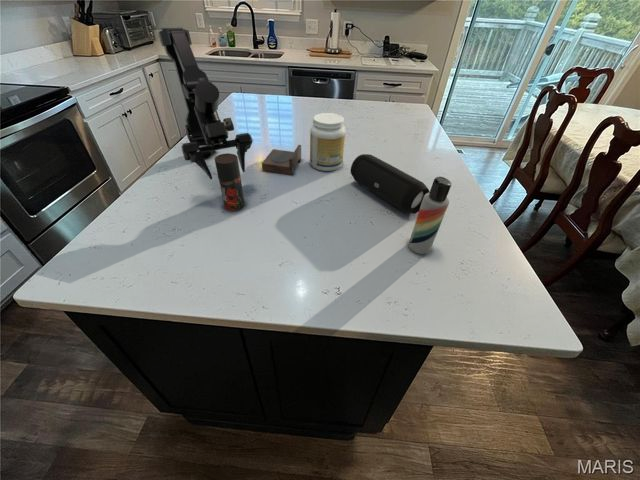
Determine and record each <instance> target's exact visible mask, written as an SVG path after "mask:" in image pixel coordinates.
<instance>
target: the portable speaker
mask: <svg viewBox="0 0 640 480" xmlns="http://www.w3.org/2000/svg"><path fill="white" fill-rule="evenodd" d="M350 174H351V176H352V178H353V179H354V181H355V182H356V183H357V184H359V185H361V186H362V187H364V188H366V189H367V190H369V191H370V192H372V193H373V194H375V195H376V196H378V197H379V198H381V199H383V200H384V201H386V202H387V203H389V204H391V205H392V206H394V207H395V208H397V209H398V210H400V211H401V212H403V213H406V214H412V215H414V214H418V213H419V210H420V207H421V204H422V201H423V198H424V195H425V194H427V193H430V189H429V188H428V186H427V185H426V184H425V183H424V182H422V181H421V180H419V179H418V178H416V177H414V176H412V175H410V174H408V173H406V172H404V171H402V170H400V169H399V168H397V167H395V166H393V165H391V164H390V163H388V162H386V161H384V160H382V159H380V158H379V157H377V156H375V155H372V154H367V153H366V154H365V153H362V154H360V155H358V156H357V157H355V158H354V160H353V161H352V163H351V166H350Z"/></svg>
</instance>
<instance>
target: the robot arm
mask: <svg viewBox="0 0 640 480" xmlns="http://www.w3.org/2000/svg"><path fill="white" fill-rule="evenodd" d="M158 38H159V42H160V44H161V45H160V46H161V47H164V51H165V54H166V55H167V56H168V57H169V58H170V59H171V60H172V62H173V64H174V67H175V71H176V75H177V78H178V82H179V85H180V89H181V92H182V95H183V100H184V103H185V107H186V110H187V112H186V116H185V123H186V124H185V125H184V127H185V134H186V137H187V140H188V142H184V143H182V145H181V150H182V151H181V152H182V155H183V157H184V161H190V162H191V163H192V164H193V163H195V164H196V165H197V166H198V167H199V168H200V169H201V170H202V171H203V172H204V173H205V174H206V175H207V177H208V178H209V179H210V180H213V176H212V173H211V170H210V169H209V166H208V163H207V162H206V160H207V159H210V158H211V157H212V156H213V155H214V154H215V153H217V152H216V151H219V150H226V149H229V148H236V149H235V150H236V156H237V157H238V163H239V167H240V169H241V171H242V173H246V172H245V171H246V159H245V157H246V153H247V152H248V151H249V149H251V147H252V144H253V142H254V140H253V137H252V135H251V134H250V133H248V132H245V133H239V134H235V138H234V139H230V140H228V139H229V132H232V131H234V130H235V126H234V123H233V120H232V117H225V118H224V119H222V121H221V119H220V116H219V113H218V109H219V102H220V89H219V88H218V87H217V86H216V85H215V84H214V83H213V82H212V81H210V80H209V78H208V75H207V73H206V72H205V71H203V70H202V69H200V67H199V65H198V62H197V59H196V58H195V55H194V53H193V52H194V51H193V49H192V47H191V46H192V45H193V44H192V43H193V42H192V39H191V34H190V30H187V29H184V28H183V27H161V29H160V30H159V31H158Z"/></svg>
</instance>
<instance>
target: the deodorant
mask: <svg viewBox="0 0 640 480" xmlns="http://www.w3.org/2000/svg"><path fill="white" fill-rule="evenodd" d="M214 163H215V168H216V169H215V170H216V172H217V176H218V182H219V187H220V192H221V196H222V200H223V205H224V208H225V209H226V210H227V211H231V212H236V211H241V210H242V209H244V207H245V206H246V202H245V195H244V190H243V189H244V188H243V183H242V177H241V171H240V163H239V159H238V155H237V154H234V153H221V154H218V155H216V156H215V157H214Z"/></svg>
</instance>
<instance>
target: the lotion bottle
mask: <svg viewBox="0 0 640 480" xmlns="http://www.w3.org/2000/svg"><path fill="white" fill-rule="evenodd" d="M452 185H453V183H452V182H451V180H449V178H446V177H444V176H436V177H435V178H434V179H433V181H432V184H431V187H430V189H429V191H430V193H427V194H425V195H424V198H423V201H422V204H421V207H420V210H419V211H418V212H417V216H416V219H415V223H414V225H413V228H412V232H411V234H410V238H409V241H408V247H409V249H410V250H411V251H412V252H414V253H416V254H419V255H425V254H428V253H430V251H431V250H432V247H433V245H434V242H435V240H436V238H437V235H438V232H439V230H440V227H441V225H442V222H443V220H444V217H445V215H446V212H447V210H448V207H449V205H450V199H449V198H448V195H449V193H450V190H451V187H452Z"/></svg>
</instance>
